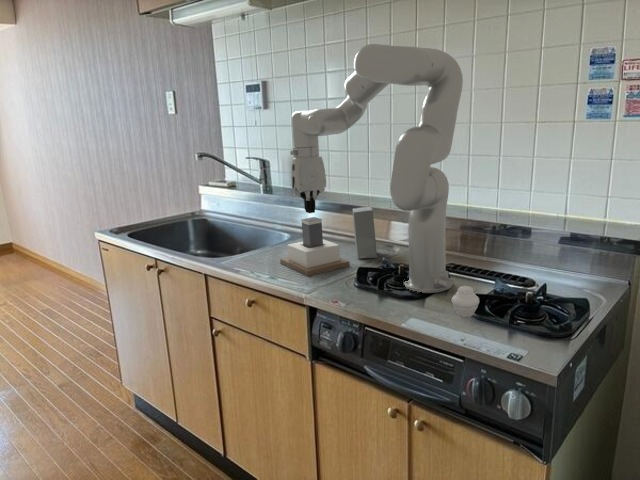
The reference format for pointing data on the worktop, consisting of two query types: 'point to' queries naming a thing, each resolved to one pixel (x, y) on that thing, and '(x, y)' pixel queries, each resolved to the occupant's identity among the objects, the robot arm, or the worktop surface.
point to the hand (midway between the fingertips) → (310, 212)
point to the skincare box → (364, 232)
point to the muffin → (465, 301)
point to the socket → (314, 258)
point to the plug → (312, 232)
